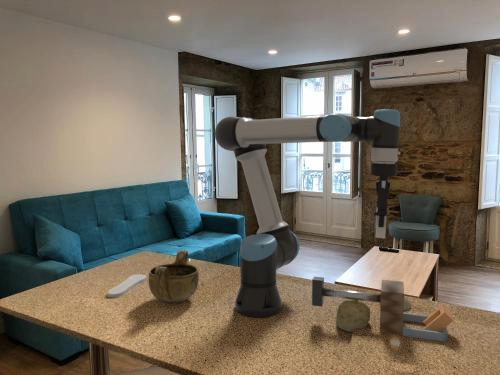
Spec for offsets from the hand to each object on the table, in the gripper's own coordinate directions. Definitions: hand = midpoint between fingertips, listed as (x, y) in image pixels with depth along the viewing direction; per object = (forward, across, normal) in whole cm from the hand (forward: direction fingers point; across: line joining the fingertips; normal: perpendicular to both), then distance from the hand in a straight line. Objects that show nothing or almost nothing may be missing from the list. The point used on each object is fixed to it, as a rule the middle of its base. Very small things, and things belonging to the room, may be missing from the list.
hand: (379, 232), depth 123 cm
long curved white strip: (+30, +1, +89) cm, 94 cm away
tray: (+26, -9, -13) cm, 30 cm away
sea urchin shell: (+27, +7, -6) cm, 28 cm away
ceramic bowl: (+29, -6, +66) cm, 72 cm away
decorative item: (+27, -10, +7) cm, 29 cm away
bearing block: (+26, -9, -4) cm, 28 cm away
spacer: (+24, -9, -14) cm, 29 cm away
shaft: (+22, -8, +7) cm, 24 cm away
